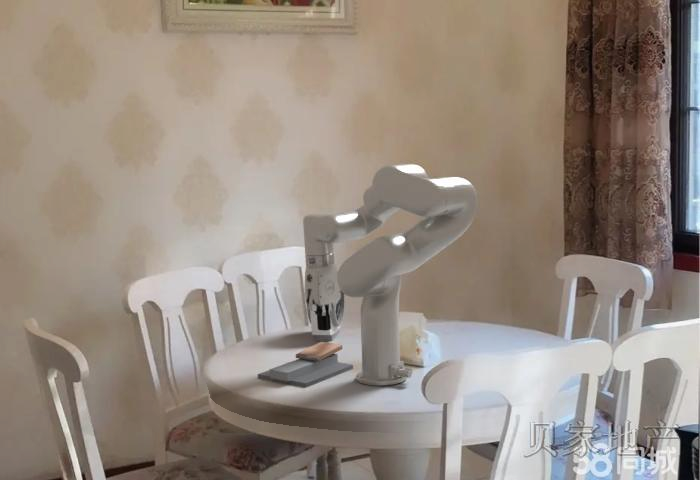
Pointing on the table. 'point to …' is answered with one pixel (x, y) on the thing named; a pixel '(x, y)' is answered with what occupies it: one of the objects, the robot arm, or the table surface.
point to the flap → (319, 351)
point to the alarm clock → (335, 320)
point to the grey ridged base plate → (306, 371)
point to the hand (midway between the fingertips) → (324, 329)
